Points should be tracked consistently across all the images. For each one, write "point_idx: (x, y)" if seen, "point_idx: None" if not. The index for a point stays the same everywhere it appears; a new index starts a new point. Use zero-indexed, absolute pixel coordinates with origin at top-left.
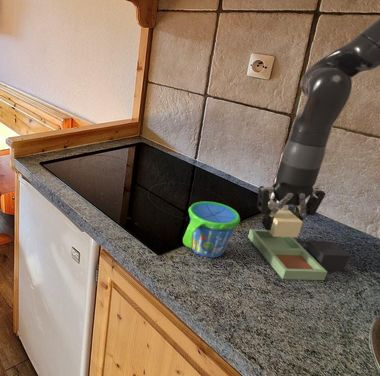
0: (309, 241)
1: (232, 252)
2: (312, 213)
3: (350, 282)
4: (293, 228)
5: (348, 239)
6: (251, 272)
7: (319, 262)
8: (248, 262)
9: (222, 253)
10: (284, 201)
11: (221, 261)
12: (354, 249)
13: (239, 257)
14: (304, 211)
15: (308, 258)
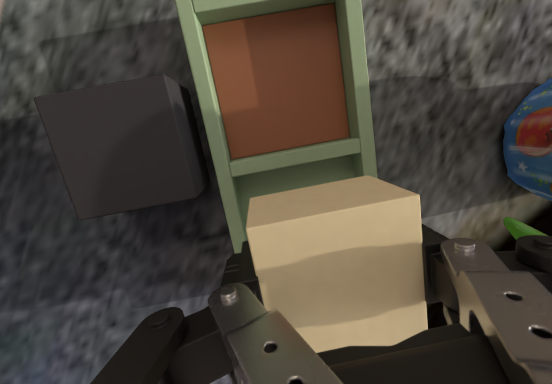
0: (195, 192)
1: (461, 142)
2: (160, 318)
3: (87, 25)
4: (290, 203)
5: (11, 336)
6: (440, 15)
7: (181, 91)
8: (428, 85)
9: (519, 105)
10: (531, 338)
11: (521, 69)
12: (7, 272)
13: (448, 113)
14: (227, 318)
15: (218, 112)
